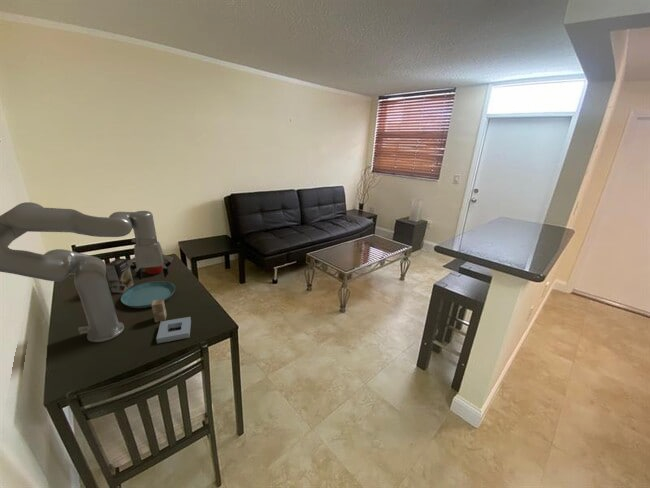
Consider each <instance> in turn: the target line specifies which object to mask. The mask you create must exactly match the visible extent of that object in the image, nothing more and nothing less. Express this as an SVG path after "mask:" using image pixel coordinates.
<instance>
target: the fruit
mask: <svg viewBox="0 0 650 488" xmlns="http://www.w3.org/2000/svg"><path fill="white" fill-rule="evenodd" d="M144 270H145V271H146V273H148V274H149V275H155V276H156V275H158V274H160V273H161V272H162V271H163V267H162V266H158V267H147V268H144Z"/></svg>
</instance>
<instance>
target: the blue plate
mask: <svg viewBox="0 0 650 488" xmlns="http://www.w3.org/2000/svg"><path fill="white" fill-rule="evenodd" d="M175 291H176V286H175V285H174V283H172V282H169V281H162V280H161V281H159V280H157V281H149V282H144V283H140V284H138V285H135V286H132V287H130V288H129V289H127V290H126V291H125V292H123V293H122V294H121V297H120V302H121V303H122V304H123V305H125V306H126V307H129V308H132V309H133V308H134V309H145V308H152V303H153V300H160V299H164V302H166V301H167V300H169V299H170V298H171V297H172V296H173V295H174V293H175Z"/></svg>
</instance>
